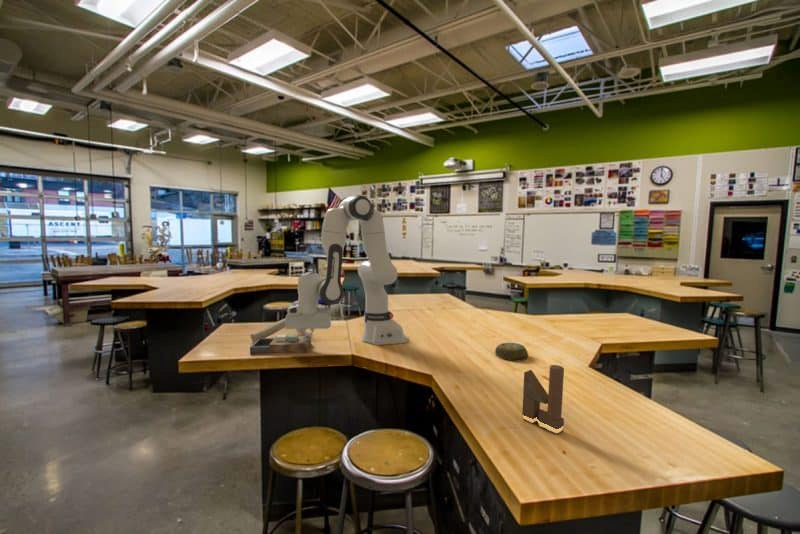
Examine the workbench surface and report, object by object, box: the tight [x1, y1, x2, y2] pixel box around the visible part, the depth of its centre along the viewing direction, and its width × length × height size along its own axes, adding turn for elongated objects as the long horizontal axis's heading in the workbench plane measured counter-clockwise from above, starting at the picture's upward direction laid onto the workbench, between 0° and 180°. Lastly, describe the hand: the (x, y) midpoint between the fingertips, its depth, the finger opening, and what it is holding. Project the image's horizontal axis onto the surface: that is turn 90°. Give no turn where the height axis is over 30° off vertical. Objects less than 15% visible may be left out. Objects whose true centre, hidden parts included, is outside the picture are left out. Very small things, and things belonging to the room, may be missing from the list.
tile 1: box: [275, 334, 288, 342], centre depth 169 cm, size 4×4×2 cm
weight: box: [494, 342, 529, 361], centre depth 163 cm, size 14×14×5 cm
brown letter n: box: [521, 364, 565, 429], centre depth 104 cm, size 4×11×18 cm, turn 39°
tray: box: [249, 337, 275, 355], centre depth 168 cm, size 8×13×3 cm, turn 5°
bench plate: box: [268, 335, 312, 355], centre depth 169 cm, size 16×13×4 cm
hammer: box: [250, 300, 302, 344], centre depth 188 cm, size 16×5×30 cm
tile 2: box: [287, 333, 299, 341], centre depth 169 cm, size 4×4×2 cm
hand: (308, 337), depth 169 cm, fingers closed
